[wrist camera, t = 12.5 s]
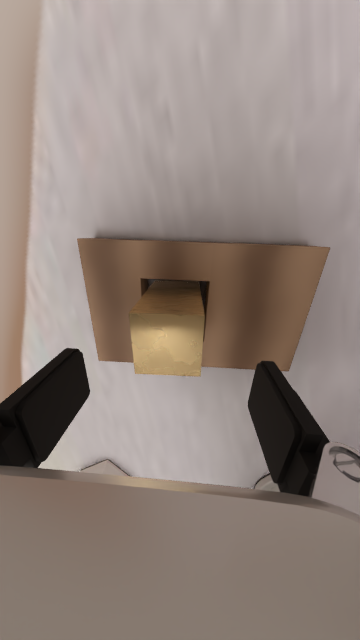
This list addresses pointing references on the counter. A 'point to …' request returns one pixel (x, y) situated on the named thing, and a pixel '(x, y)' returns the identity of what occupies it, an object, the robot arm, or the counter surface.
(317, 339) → the counter surface
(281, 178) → the counter surface
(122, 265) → the walnut square hole board
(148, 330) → the brass peg
